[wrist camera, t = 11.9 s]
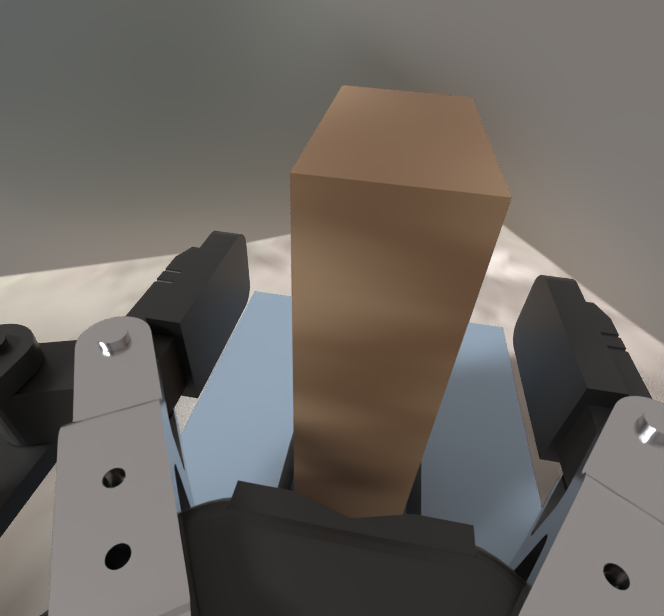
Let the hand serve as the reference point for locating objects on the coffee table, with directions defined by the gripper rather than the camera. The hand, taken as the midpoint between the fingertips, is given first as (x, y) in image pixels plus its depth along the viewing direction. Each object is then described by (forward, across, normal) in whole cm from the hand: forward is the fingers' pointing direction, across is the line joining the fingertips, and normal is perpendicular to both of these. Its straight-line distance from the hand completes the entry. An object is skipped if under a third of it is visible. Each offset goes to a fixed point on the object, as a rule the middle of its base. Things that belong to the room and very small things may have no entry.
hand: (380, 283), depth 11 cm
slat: (-2, 0, +10) cm, 10 cm away
